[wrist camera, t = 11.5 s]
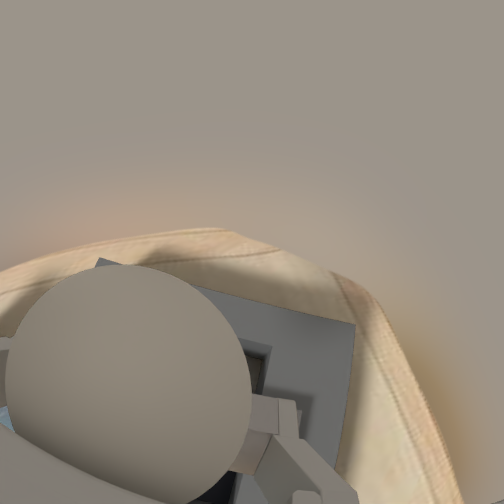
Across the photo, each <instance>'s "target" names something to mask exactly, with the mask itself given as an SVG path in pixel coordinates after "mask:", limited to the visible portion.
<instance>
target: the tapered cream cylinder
mask: <svg viewBox="0 0 504 504" xmlns="http://www.w3.org/2000/svg"><path fill="white" fill-rule="evenodd" d="M5 392H6V401H7V407H8V412H9V416H10V419H11V422H12V425H13V428H14V431H15V433H16V434H18V435H19V436H21V437H22V438H24V439H25V440H27V441H29V442H30V443H32V444H33V445H35V446H37V447H38V448H40V449H42V450H44V451H45V452H47V453H49V454H51V455H52V456H54V457H56V458H58V459H60V460H62V461H63V462H65V463H67V464H69V465H71V466H73V467H75V468H77V469H79V470H81V471H83V472H86V473H88V474H90V475H92V476H94V477H96V478H99V479H101V480H103V481H106V482H108V483H110V484H113V485H115V486H118V487H120V488H123V489H125V490H128V491H131V492H133V493H136V494H139V495H142V496H145V497H148V498H151V499H154V500H157V501H160V502H163V503H167V504H187V503H188V502H190V501H192V500H194V499H196V498H198V497H199V496H201V495H202V494H203V493H205V492H206V491H207V490H209V489H210V488H211V487H213V486H214V485H215V484H216V483H217V482H218V481H219V480H220V478H221V477H222V476H223V475H224V474H225V473H226V472H227V470H228V469H229V467H230V466H231V465H232V463H233V462H234V460H235V459H236V457H237V455H238V453H239V451H240V449H241V447H242V445H243V442H244V439H245V436H246V433H247V430H248V426H249V421H250V415H251V405H252V389H251V380H250V373H249V369H248V365H247V361H246V357H245V354H244V352H243V349H242V347H241V344H240V342H239V340H238V338H237V336H236V334H235V332H234V331H233V329H232V327H231V325H230V324H229V323H228V321H227V320H226V318H225V317H224V316H223V314H222V313H221V312H220V311H219V310H218V309H217V308H216V306H215V305H214V304H213V303H212V302H211V301H210V300H209V299H208V298H206V297H205V296H204V295H203V294H202V293H201V292H199V291H198V290H197V289H195V288H194V287H192V286H191V285H189V284H188V283H186V282H185V281H183V280H181V279H179V278H177V277H175V276H173V275H171V274H168V273H165V272H162V271H159V270H156V269H152V268H148V267H143V266H136V265H107V266H100V267H95V268H92V269H88V270H84V271H82V272H79V273H77V274H74V275H72V276H70V277H68V278H66V279H64V280H62V281H61V282H59V283H57V284H56V285H55V286H53V287H52V288H51V289H49V290H48V291H47V292H45V293H44V294H43V295H42V296H41V297H40V298H39V299H38V300H37V301H36V302H35V303H34V305H33V306H32V307H31V308H30V309H29V311H28V312H27V313H26V315H25V317H24V318H23V320H22V321H21V323H20V325H19V327H18V329H17V331H16V333H15V335H14V337H13V340H12V343H11V346H10V349H9V353H8V358H7V363H6V373H5Z"/></svg>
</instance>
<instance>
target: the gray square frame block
mask: <svg viewBox="0 0 504 504" xmlns="http://www.w3.org/2000/svg"><path fill="white" fill-rule="evenodd" d="M107 265H123V264H119V263H116V262H113V261H110V260H106V259H103V258H100V257H99V259H98V261H97V263H96V265H95V267H100V266H107ZM189 285H191V286H192V287H194V288H195V289H197V290H198V291H199V292H201V293H202V294H203V295H204V296H205V297H206V298H208V299H209V300H210V301H211V302H212V303H213V304H214V305H215V306H216V308H217V309H218V310H219V311H220V312H221V313H222V314H223V316H224V317H225V318H226V320H227V321H228V323H229V324H230V325H231V327H232V329H233V331H234V332H235V334H236V336H237V338H238V340H239V342H240V344H241V347H242V349H243V352H244V354H245V355H246V356H250V357H255V358H259V359H263V361H262V365H261V370H260V374H259V379H258V383H257V388H256V392H255V394H258V395H263V396H268V397H273V398H282V399H288V400H294V401H295V402H296V410H301V411H302V416H301V421H300V426H299V439H304V440H305V441H306V442H307V443H308V444H309V445H310V446H311V447H312V448H313V449H314V450H315V451H316V452H317V453H318V454H319V455H320V456H321V457H322V458H323V459H324V460H325V461H326V462H327V463H328V464H329V465H330V466H331V467H332V468H333V469H334V470H335V465H336V460H337V455H338V450H339V445H340V439H341V434H342V428H343V422H344V416H345V410H346V403H347V396H348V389H349V381H350V374H351V365H352V356H353V347H354V337H355V326H356V325H355V324H350V323H345V322H341V321H336V320H332V319H327V318H323V317H318V316H314V315H310V314H305V313H301V312H297V311H293V310H289V309H284V308H280V307H276V306H272V305H268V304H264V303H260V302H256V301H252V300H248V299H244V298H240V297H236V296H233V295H229V294H225V293H221V292H217V291H214V290H210V289H206V288H203V287H199V286H195V285H192V284H189ZM187 504H213V503H208V502H204V501H200V500H196V499H194V500H192V501H190V502H188V503H187ZM228 504H269V503H268V501H267V499H266V498H265V496H264V494H263V493H262V491H261V489H260V488H259V486H258V484H257V483H256V481H255V479H254V477H253V476H252V475H247V474H243V473H238V472H236V475H235V479H234V483H233V486H232V490H231V494H230V498H229V502H228Z"/></svg>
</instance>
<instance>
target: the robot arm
mask: <svg viewBox="0 0 504 504" xmlns="http://www.w3.org/2000/svg"><path fill="white" fill-rule="evenodd" d="M13 337H14V336H13ZM13 337H11V338H8V337H0V408H1V407H4V406H7V401H6V392H5V373H6V363H7V358H8V353H9V349H10V346H11V343H12V340H13ZM228 470H229V471H234V472H238V473H243V474H247V475H252V476H253V477H254V479H255V481H256V483H257V484H258V486H259V488H260V489H261V491H262V493H263V494H264V496H265V498H266V499H267V501H268V503H269V504H359V499H358V495H357V492H356V491H355V490H354V489H353V488H352V487H351V486H350V485H349V484H348V483H347V482H346V481H345V480H344V479H343V478H342V477H341V476H340V475H339V474H338V473H337V472H336V471H335V470H334V469H333V468H332V467H331V466H330V465H329V464H328V463H327V462H326V461H325V460H324V459H323V458H322V457H321V456H320V455H319V454H318V453H317V452H316V451H315V450H314V449H313V448H312V447H311V446H310V445H309V444H308V443H307V442H306V441H305V440H304V439H299V431H298V420H297V410H296V402H295V401H294V400H288V399H282V398H273V397H268V396H263V395H258V394H254V393H252V405H251V415H250V421H249V426H248V430H247V433H246V436H245V439H244V442H243V445H242V447H241V449H240V451H239V453H238V455H237V457H236V459H235V460H234V462H233V463H232V465H231V466H230V467H229V469H228ZM0 504H167V503H163V502H160V501H157V500H154V499H151V498H148V497H145V496H142V495H139V494H136V493H133V492H131V491H128V490H125V489H123V488H120V487H118V486H115V485H113V484H110V483H108V482H106V481H103V480H101V479H99V478H96V477H94V476H92V475H90V474H88V473H86V472H83V471H81V470H79V469H77V468H75V467H73V466H71V465H69V464H67V463H65V462H63V461H62V460H60V459H58V458H56V457H54V456H52V455H51V454H49V453H47V452H45V451H44V450H42V449H40V448H38V447H37V446H35V445H33V444H32V443H30V442H29V441H27V440H25V439H24V438H22V437H21V436H19V435H18V434H16V433H15V432H13V431H12V430H10V429H9V428H7V427H6V426H4V425H3V424H1V423H0ZM492 504H504V500H501V501H499V502H496V503H492Z"/></svg>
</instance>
